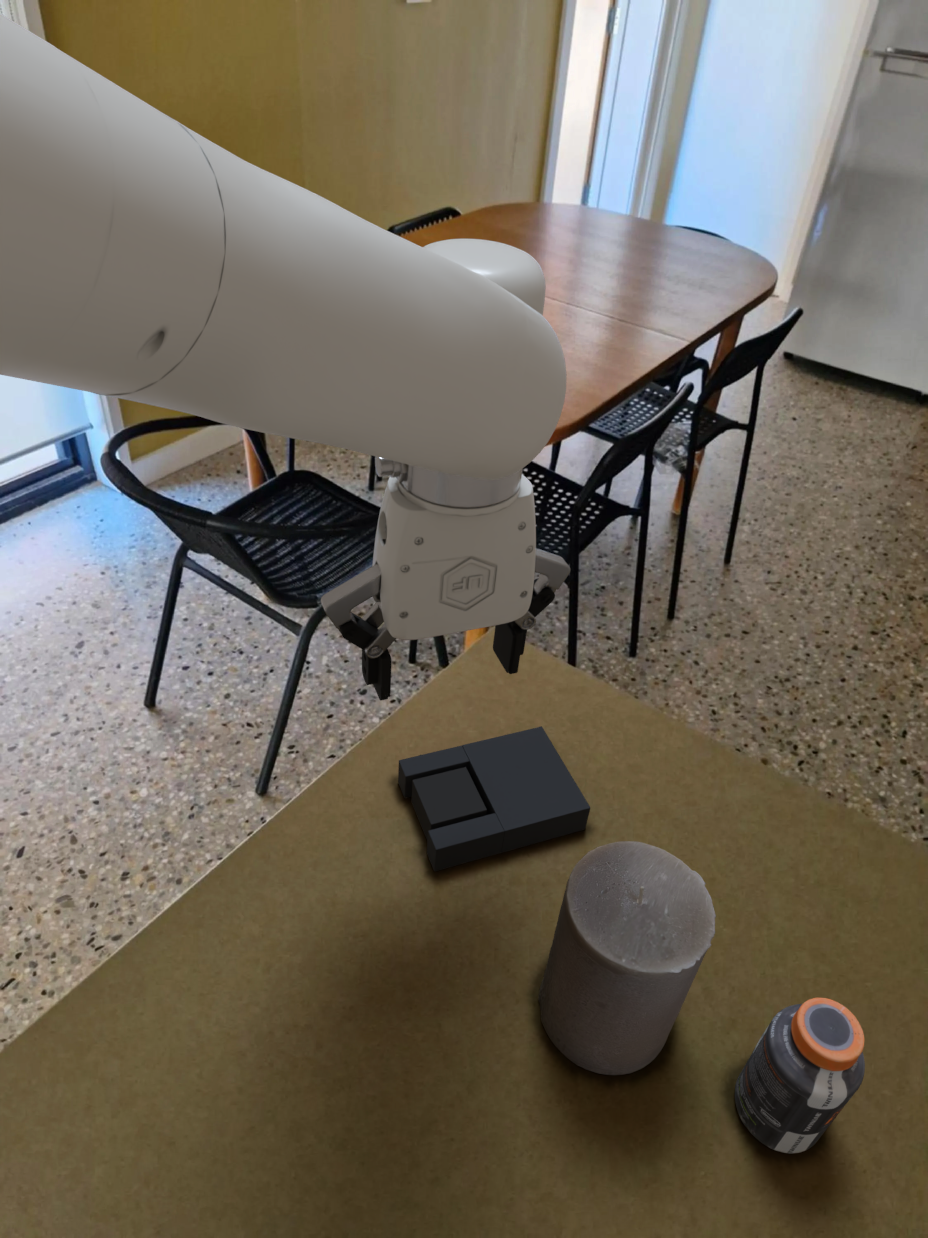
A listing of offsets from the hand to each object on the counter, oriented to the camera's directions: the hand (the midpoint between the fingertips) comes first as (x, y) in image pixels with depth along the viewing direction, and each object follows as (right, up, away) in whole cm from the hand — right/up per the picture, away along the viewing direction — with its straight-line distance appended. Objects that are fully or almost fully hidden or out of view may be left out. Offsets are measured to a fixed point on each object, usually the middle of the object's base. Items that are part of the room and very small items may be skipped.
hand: (443, 674), depth 64 cm
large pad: (+4, -13, +15) cm, 20 cm away
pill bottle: (+23, -29, -3) cm, 37 cm away
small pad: (0, -13, +14) cm, 19 cm away
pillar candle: (+12, -25, +1) cm, 27 cm away
